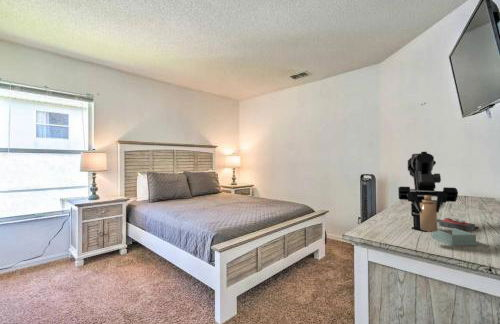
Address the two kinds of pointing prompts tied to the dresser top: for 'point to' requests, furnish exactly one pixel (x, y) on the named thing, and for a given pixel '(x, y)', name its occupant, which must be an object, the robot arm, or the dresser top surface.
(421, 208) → the bottle
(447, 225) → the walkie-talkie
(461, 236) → the u rest
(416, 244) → the dresser top surface
